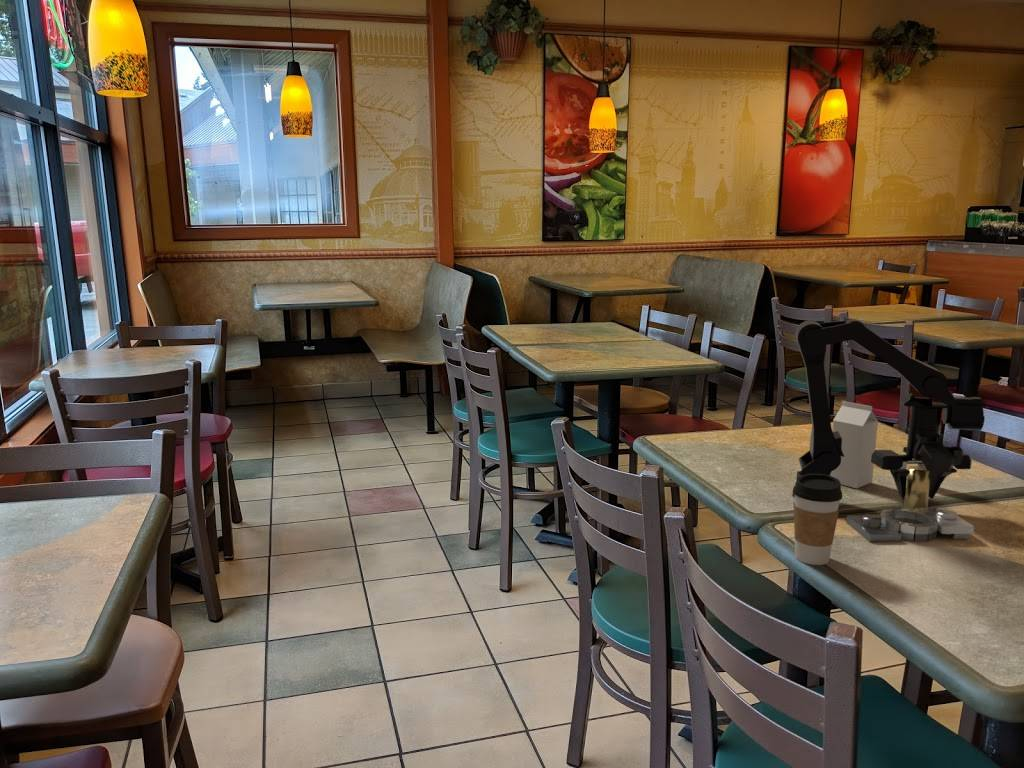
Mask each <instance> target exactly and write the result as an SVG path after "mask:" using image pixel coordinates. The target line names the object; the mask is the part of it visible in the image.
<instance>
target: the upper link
mask: <svg viewBox="0 0 1024 768" xmlns="http://www.w3.org/2000/svg"><path fill="white" fill-rule="evenodd" d="M880 517H881V518H882V520H881V523H882V524H883V525H885V526H886V527H888V528H890V529H893V530H896V531H900V532H905V533H911V534H914V533H915V534H930V533H933V532H936V531H937V532H938V533H939V534H941V535H948V537H951V538H952V539H953V540H969V539H970V536H971V535H970V534H974V528H975V526H974V525H973V524H971V523H970V522H968V521H967V520H965V519H963V518H962V517H960V516H959V515H958V513H957V512H955V511H953V510H949V509H947V508H946V507H927V508H915V510H912V509H906V508H904V507H893V508H892V507H891V508H887V509H882V510H881V512H880ZM893 518H909V519H915V520H918V521H921V522H923V523H924V524H911V523H905V522H901V521H898V520H895V519H893ZM968 538H969V539H968Z"/></svg>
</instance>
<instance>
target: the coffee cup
mask: <svg viewBox="0 0 1024 768" xmlns="http://www.w3.org/2000/svg"><path fill="white" fill-rule="evenodd" d="M796 479H797V480H796ZM796 479H795V480H796V482H795V484H794V486H793V489H792V493H794V495H795V498H794V502H793V525H794V526H793V527H794V528H793V530H794V556H795V559H796V560H797V561H799V562H801V563H804V564H807V565H813V566H822V565H823V566H824V565H827V564H828V563H830V558H831V552H832V546H833V543H834V537H835V532H836V529H837V523H838V519H839V518H838V517H839V512H840V507H839V506H840V500H842V499H843V492H842V488H841V486H842V485H841V483H840V481H839V480H838V479H837V478H835V477H832V476H829V475H825V474H806V475H803V476H800V477H799V478H797V477H796Z"/></svg>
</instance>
